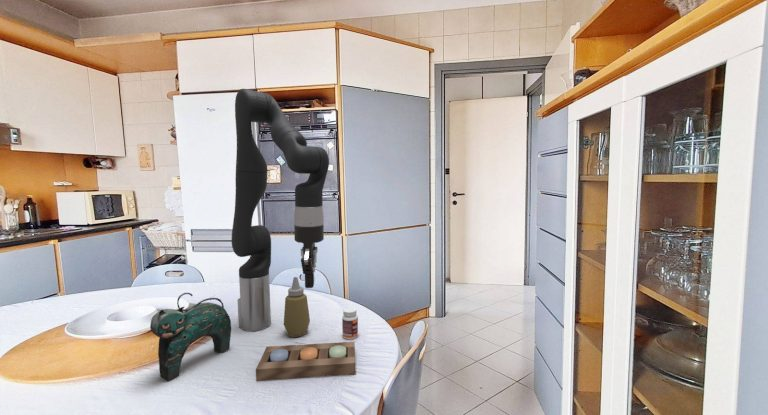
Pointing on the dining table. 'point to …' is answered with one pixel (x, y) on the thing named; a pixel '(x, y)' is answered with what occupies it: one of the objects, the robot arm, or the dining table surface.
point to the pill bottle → (350, 323)
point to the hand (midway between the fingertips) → (309, 286)
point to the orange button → (308, 353)
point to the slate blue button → (279, 355)
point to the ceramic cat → (188, 332)
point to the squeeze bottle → (296, 311)
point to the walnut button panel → (306, 363)
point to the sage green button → (337, 352)
